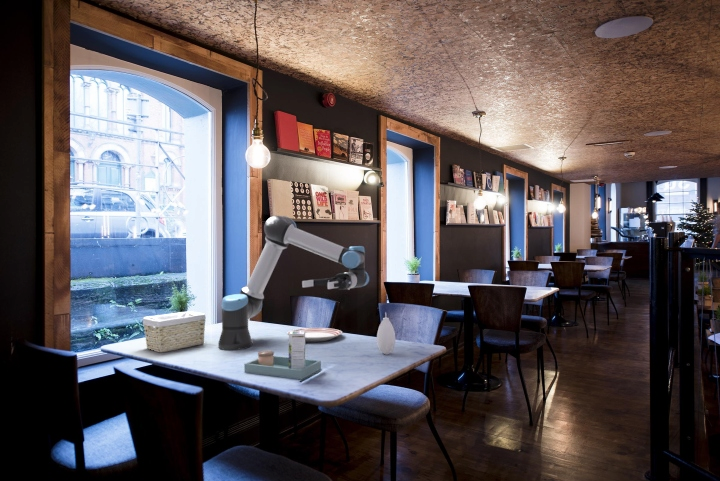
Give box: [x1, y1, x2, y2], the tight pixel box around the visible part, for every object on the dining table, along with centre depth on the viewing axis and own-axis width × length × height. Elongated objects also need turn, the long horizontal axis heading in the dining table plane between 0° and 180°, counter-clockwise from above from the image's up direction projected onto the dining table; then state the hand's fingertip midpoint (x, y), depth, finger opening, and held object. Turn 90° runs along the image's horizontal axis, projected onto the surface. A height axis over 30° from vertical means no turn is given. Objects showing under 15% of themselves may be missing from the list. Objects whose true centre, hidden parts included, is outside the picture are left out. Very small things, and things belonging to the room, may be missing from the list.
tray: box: [243, 355, 322, 383], centre depth 173 cm, size 24×14×4 cm, turn 66°
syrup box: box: [288, 330, 306, 370], centre depth 171 cm, size 6×6×14 cm
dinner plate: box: [286, 327, 343, 343], centre depth 235 cm, size 28×27×3 cm
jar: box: [257, 350, 275, 367], centre depth 176 cm, size 6×6×6 cm
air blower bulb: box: [376, 312, 396, 355], centre depth 201 cm, size 8×8×18 cm
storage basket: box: [142, 310, 206, 353], centre depth 219 cm, size 24×16×15 cm
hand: (315, 285), depth 197 cm, fingers open, 13 cm apart
